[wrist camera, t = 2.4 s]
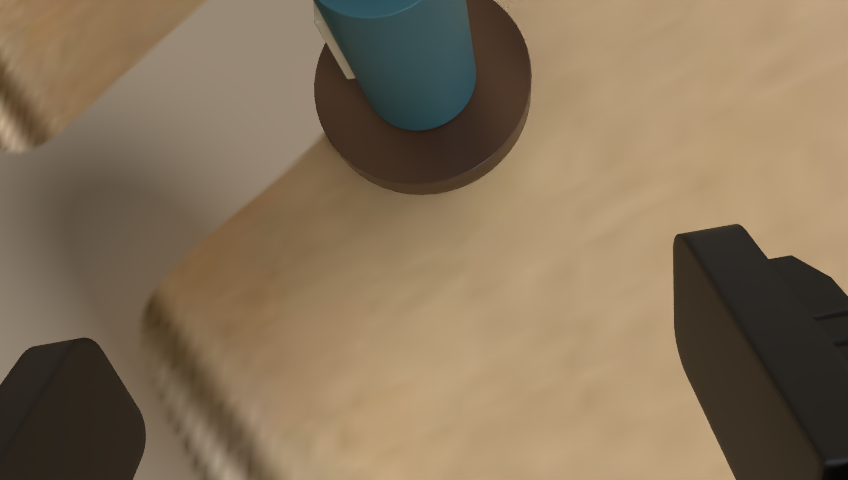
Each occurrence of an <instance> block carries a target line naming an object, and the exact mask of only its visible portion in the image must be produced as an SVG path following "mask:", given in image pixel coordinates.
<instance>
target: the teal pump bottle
mask: <svg viewBox="0 0 848 480" xmlns="http://www.w3.org/2000/svg"><path fill="white" fill-rule="evenodd" d="M314 22H315V24H316V26H317V28H318V29H319V31H320V33H321V34H322V36H323V38H324V40H325V41H326V43H327V45H328V47H329V48H330V50H331V52H332V54H333V55H334V57H335V59H336V61H337V62H338V64H339V66H340V68H341V69H342V71H343V73H344V74H345V76H346V78H347V79H353V78H356V79H357V81H358V83H359V85H360V86H361V88H362V90H363V92H364V94H365V96H366V97H367V99H368V101H369V103H370V105H371V106H372V108H373V109H374V111H375V112H376V113H377V114H378V115H379V116H380V117H381V118H382V119H383V120H385V121H386V122H388V123H389V124H391V125H393V126H396V127H398V128H401V129H406V130H415V131H417V130H427V129H432V128H435V127H438V126H441V125H443V124H445V123H447V122H448V121H450V120H452V119H453V118H454V117H455V116H457V115H458V114H459V113H460V112H461V111H462V110H463V109H464V107H465V106H466V105H467V103H468V101H469V100H470V98H471V96H472V93H473V91H474V87H475V83H476V66H475V59H474V52H473V45H472V38H471V31H470V24H469V17H468V10H467V3H466V0H314Z"/></svg>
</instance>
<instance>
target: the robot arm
mask: <svg viewBox="0 0 848 480" xmlns="http://www.w3.org/2000/svg"><path fill="white" fill-rule="evenodd" d="M673 275H674V329H675V337H676V343H677V348H678V352H679V356H680V359H681V362H682V365H683V368H684V371H685V373H686V375H687V377H688V379H689V381H690V384H691V386H692V388H693V390H694V392H695V394H696V396H697V398H698V400H699V403H700V405H701V407H702V409H703V411H704V413H705V415H706V417H707V420H708V422H709V424H710V426H711V428H712V430H713V432H714V434H715V436H716V439H717V441H718V443H719V445H720V447H721V449H722V451H723V453H724V455H725V458H726V460H727V462H728V464H729V466H730V468H731V470H732V472H733V474H734V477H735V479H736V480H848V296H847V295H846V294H845V293H844V292H843V291H842V289H841V288H840V287H839V286H838V285H837V284H836V283H835V281H834V280H833V279H832V278H831V277H829V276H828V275H826V274H824V273H822V272H820V271H819V270H817V269H815V268H813V267H811V266H810V265H808V264H806V263H804V262H802V261H801V260H799V259H797V258H795V257H793V256H792V255H791V256H785V257H779V258H773V259H768V258H767V257H766V256H765V255H764V253H763V252H762V251H761V249H760V248H759V247H758V245H757V244H756V243H755V242H754V240H753V239H752V238H751V236H750V235H749V234H748V232H747V231H746V230H745V229H744V228H743V227H742V226H741V225H739V224H733V225H728V226H722V227H716V228H711V229H705V230H699V231H694V232H688V233H682V234H677V235H676V237H675V239H674V245H673ZM145 437H146V433H145V424H144V420H143V417H142V414H141V412H140V410H139V408H138V407H137V405H136V403H135V402H134V400H133V399H132V397H131V395H130V394H129V392H128V391H127V389H126V387H125V386H124V384H123V383H122V381H121V379H120V378H119V376H118V375H117V373H116V371H115V370H114V368H113V367H112V365H111V363H110V362H109V360H108V359H107V357H106V355H105V354H104V352H103V351H102V349H101V348H100V346H99V345H98V344H97V343H96V342H95V341H93V340H92V339H89V338H80V339H74V340H68V341H62V342H56V343H51V344H45V345H40V346H34V347H31V348H29V349H28V350H26V351H25V352H24V353H23V354H22V355H21V357H20V358H19V360H18V361H17V363H16V364H15V365H14V367H13V368H12V369H11V371H10V372H9V374H8V375H7V377H6V378H5V379H4V381H3V382H2V383H1V385H0V480H133V477H134V475H135V473H136V470H137V468H138V465H139V463H140V461H141V458H142V456H143V453H144V448H145V440H146V438H145Z"/></svg>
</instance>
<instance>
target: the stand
mask: <svg viewBox="0 0 848 480" xmlns="http://www.w3.org/2000/svg"><path fill="white" fill-rule="evenodd" d="M466 3H467V10H468V17H469V24H470V31H471V38H472V45H473V52H474V59H475V66H476V83H475V87H474V91H473V93H472V96H471V98H470V100H469V101H468V103H467V105H466V106H465V107H464V109H463V110H462V111H461V112H460V113H459V114H458V115H457V116H455V117H454V118H453V119H452V120H450V121H448V122H447V123H445V124H443V125H441V126H438V127H435V128H432V129H427V130H417V131H415V130H406V129H401V128H398V127H396V126H393V125H391V124H389V123H388V122H386V121H385V120H383V119H382V118H381V117H380V116H379V115H378V114H377V113H376V112H375V111H374V109H373V108H372V106H371V105H370V103H369V101H368V99H367V97H366V96H365V94H364V92H363V90H362V88H361V86H360V85H359V83H358V81H357V79H356V78H353V79H347V78H346V76H345V74H344V73H343V71H342V69H341V68H340V66H339V64H338V62H337V61H336V59H335V57H334V55H333V54H332V52H331V50H330V48H329V47H328V45H327V43H325V45H324V47H323V50H322V52H321V55H320V57H319V61H318V65H317V69H316V75H315V83H314V91H315V92H314V93H315V103H316V109H317V113H318V116H319V120H320V123H321V125H322V127H323V129H324V131H325V134H326V135H327V137H328V138H329V140H330V142H331V143H332V145H333V146H334V147H335V148H336V150H337V151H338V152H339V153H340V155H341V156H342V157H343V158H344V159H345V161H346V162H347V163H348V164H349V165H350V166H351V167H352V168H353V169H354V170H355V171H356V172H358V173H359V174H360V175H361V176H363V177H364V178H366V179H367V180H369V181H371V182H372V183H375V184H377V185H379V186H381V187H383V188H386V189H389V190H392V191H396V192H401V193H407V194H420V195H425V194H437V193H442V192H447V191H451V190H454V189H457V188H460V187H463V186H465V185H467V184H469V183H471V182H473V181H475V180H477V179H479V178H480V177H482V176H483V175H485V174H486V173H488V172H489V171H491V170H492V169H493V168H494V167H495V166H496V165H498V164H499V163H500V162H501V161H502V159H503V158H504V157H505V156H506V155H507V154H508V153H509V152H510V150H511V149H512V147H513V146H514V144H515V143H516V141H517V140H518V138H519V136H520V134H521V132H522V130H523V127H524V124H525V122H526V119H527V116H528V111H529V106H530V96H531V64H530V58H529V53H528V49H527V46H526V44H525V41H524V38H523V36H522V34H521V32H520V30H519V29H518V27H517V25H516V24H515V22H514V21H513V20H512V18H511V17H510V16H509V15H508V13H507V12H506V11H505V10H504V9H503V8H502V7H501V6H499V5H498V4H497V3H496V2H494V1H493V0H466Z"/></svg>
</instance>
